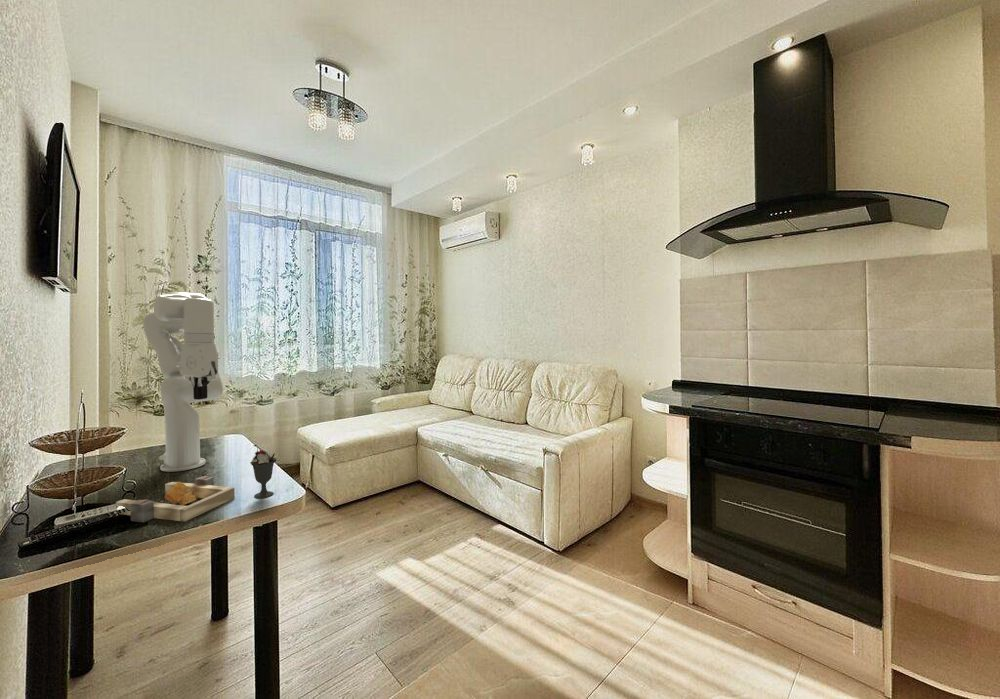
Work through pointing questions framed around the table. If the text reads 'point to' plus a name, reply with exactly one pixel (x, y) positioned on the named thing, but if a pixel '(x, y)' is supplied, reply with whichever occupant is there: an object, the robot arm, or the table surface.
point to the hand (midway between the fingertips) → (200, 398)
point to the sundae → (263, 471)
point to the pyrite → (180, 494)
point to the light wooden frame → (201, 489)
